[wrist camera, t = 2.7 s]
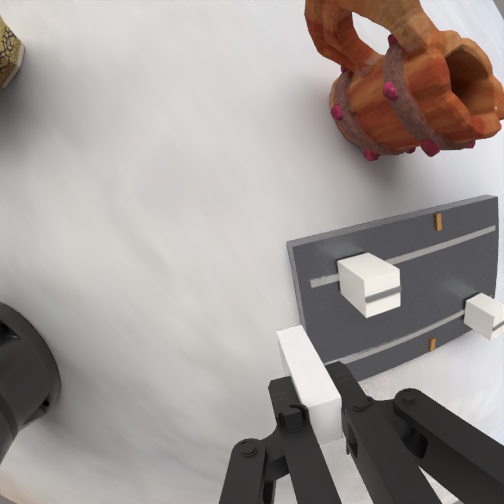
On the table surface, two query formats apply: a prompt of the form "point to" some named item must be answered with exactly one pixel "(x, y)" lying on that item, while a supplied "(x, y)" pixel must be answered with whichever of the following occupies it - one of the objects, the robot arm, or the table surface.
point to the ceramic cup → (9, 54)
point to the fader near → (369, 284)
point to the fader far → (485, 315)
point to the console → (411, 281)
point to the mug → (405, 80)
